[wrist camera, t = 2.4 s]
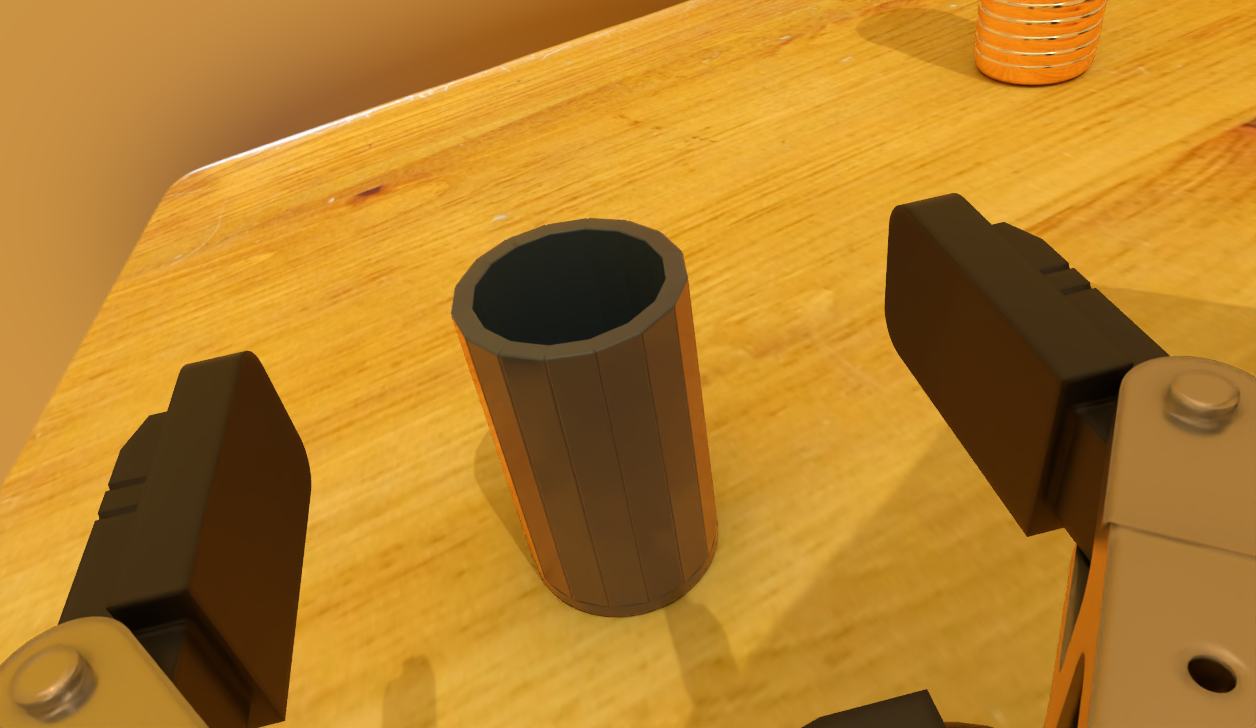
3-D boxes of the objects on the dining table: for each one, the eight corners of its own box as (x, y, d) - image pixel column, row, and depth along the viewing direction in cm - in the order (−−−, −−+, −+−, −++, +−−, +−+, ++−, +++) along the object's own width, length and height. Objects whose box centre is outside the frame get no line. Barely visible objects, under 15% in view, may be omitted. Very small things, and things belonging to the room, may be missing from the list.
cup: (663, 446, 34) (622, 194, 27) (753, 561, 30) (731, 294, 23) (510, 517, 33) (423, 269, 26) (579, 650, 28) (497, 393, 21)
